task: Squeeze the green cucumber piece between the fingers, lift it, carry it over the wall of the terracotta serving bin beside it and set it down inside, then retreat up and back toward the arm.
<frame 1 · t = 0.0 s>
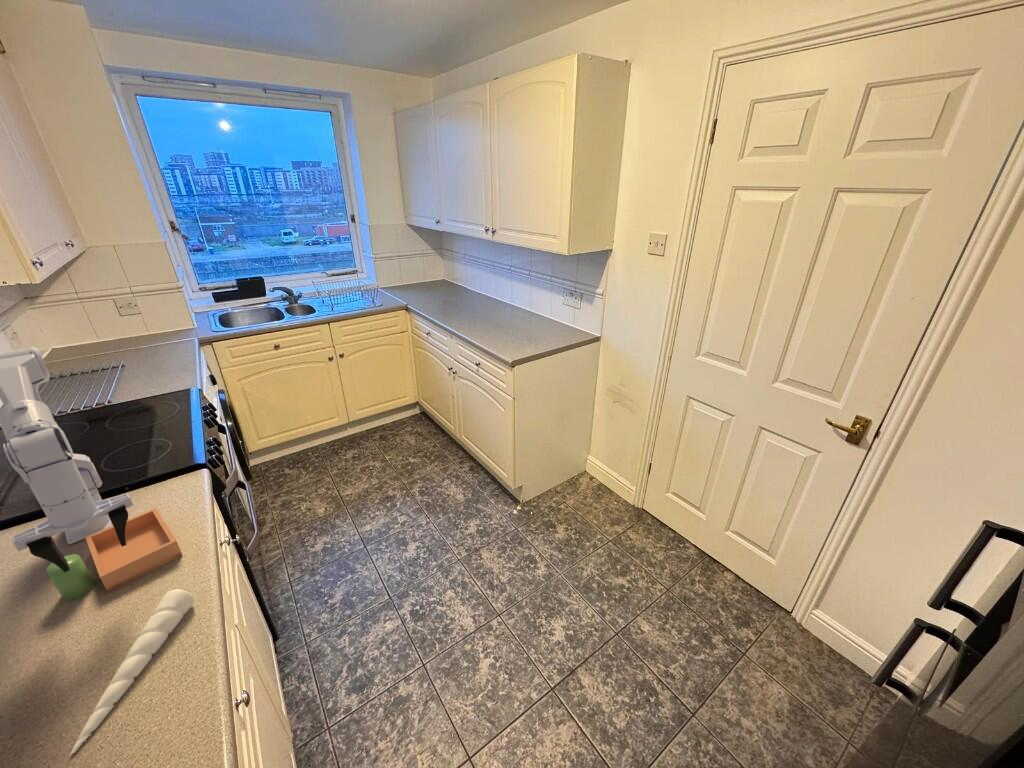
hand: (95, 555, 76), 10 cm above the countertop, tool pointing down, fingers open, 7 cm apart
unicorn horn: (144, 664, 68), on the countertop
terracotta bin: (137, 553, 89), on the countertop
cucumber piece: (78, 590, 80), on the countertop
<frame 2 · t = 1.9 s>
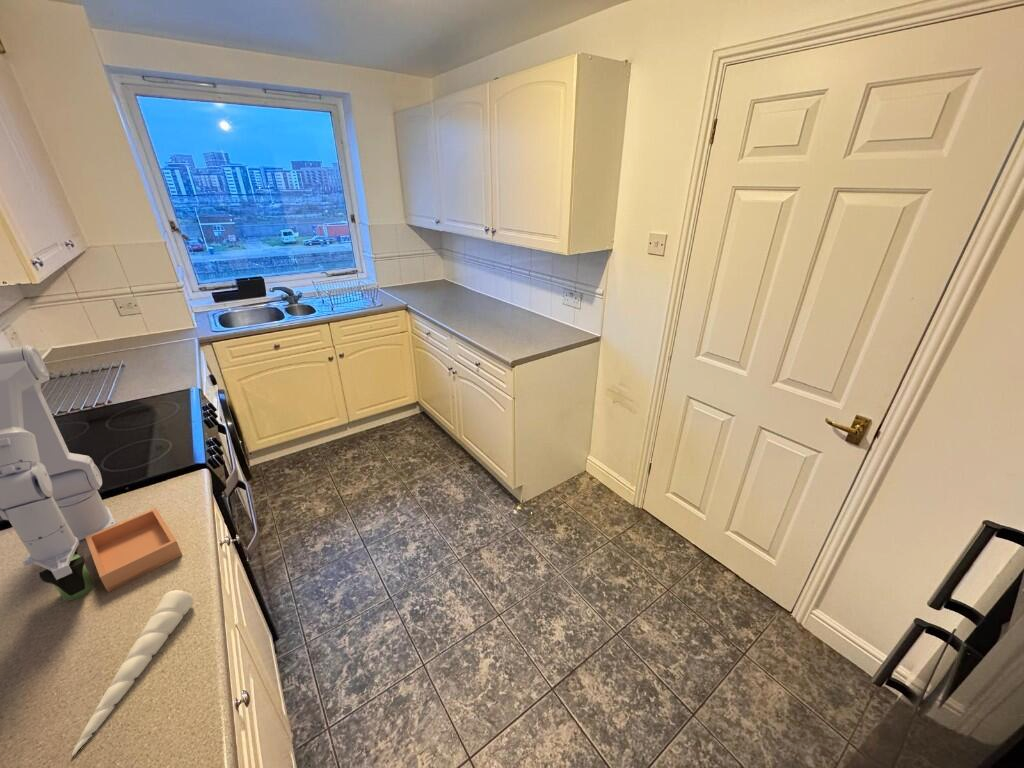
hand: (75, 584, 80), 2 cm above the countertop, tool pointing down, fingers closed on cucumber piece, 4 cm apart
cucumber piece: (78, 590, 80), on the countertop, touching gripper
everything else where it was.
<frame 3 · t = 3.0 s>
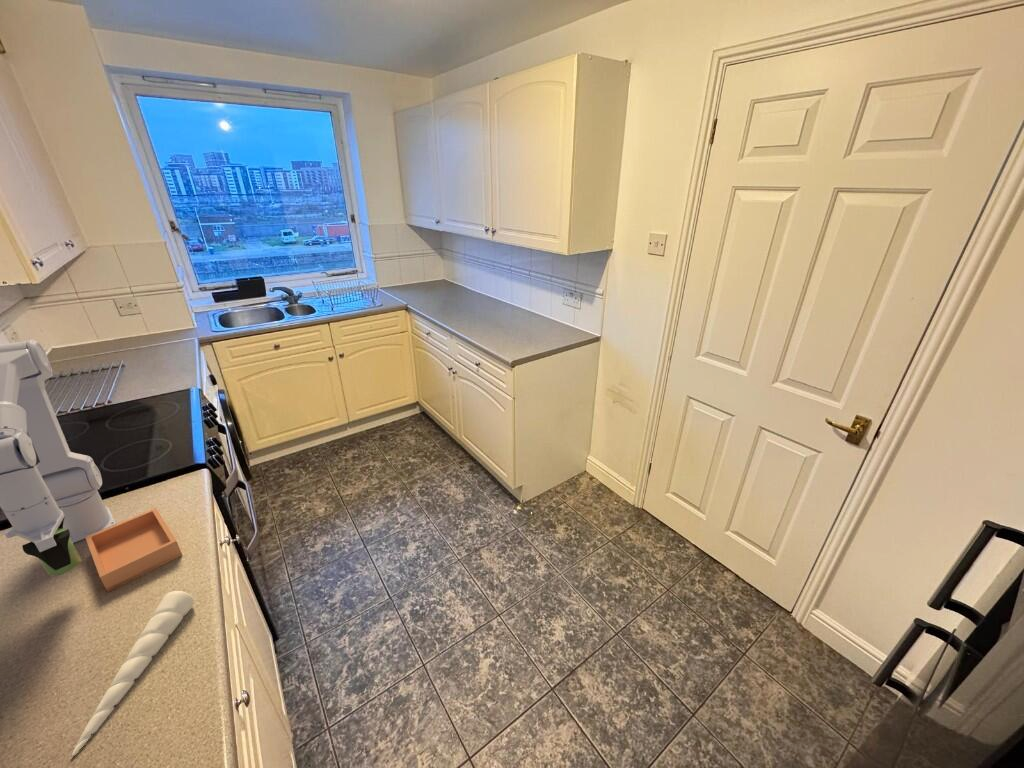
hand: (61, 559, 77), 8 cm above the countertop, tool pointing down, fingers closed on cucumber piece, 4 cm apart
cucumber piece: (64, 565, 78), point 6 cm above the countertop, touching gripper
everything else where it was.
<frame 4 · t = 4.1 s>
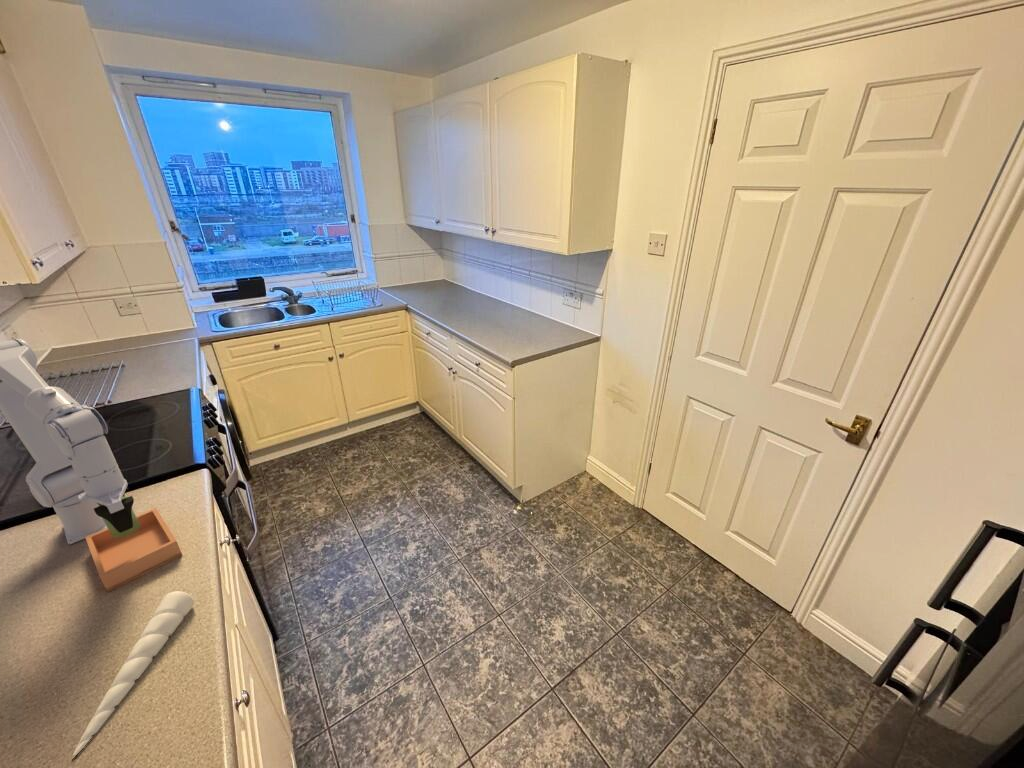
hand: (123, 523, 86), 8 cm above the countertop, tool pointing down, fingers closed on cucumber piece, 4 cm apart
cucumber piece: (126, 529, 86), point 6 cm above the countertop, touching gripper
everything else where it was.
when the fingers open (4 cm above the countertop, at t = 5.2 s): cucumber piece drops 1 cm, resting on terracotta bin.
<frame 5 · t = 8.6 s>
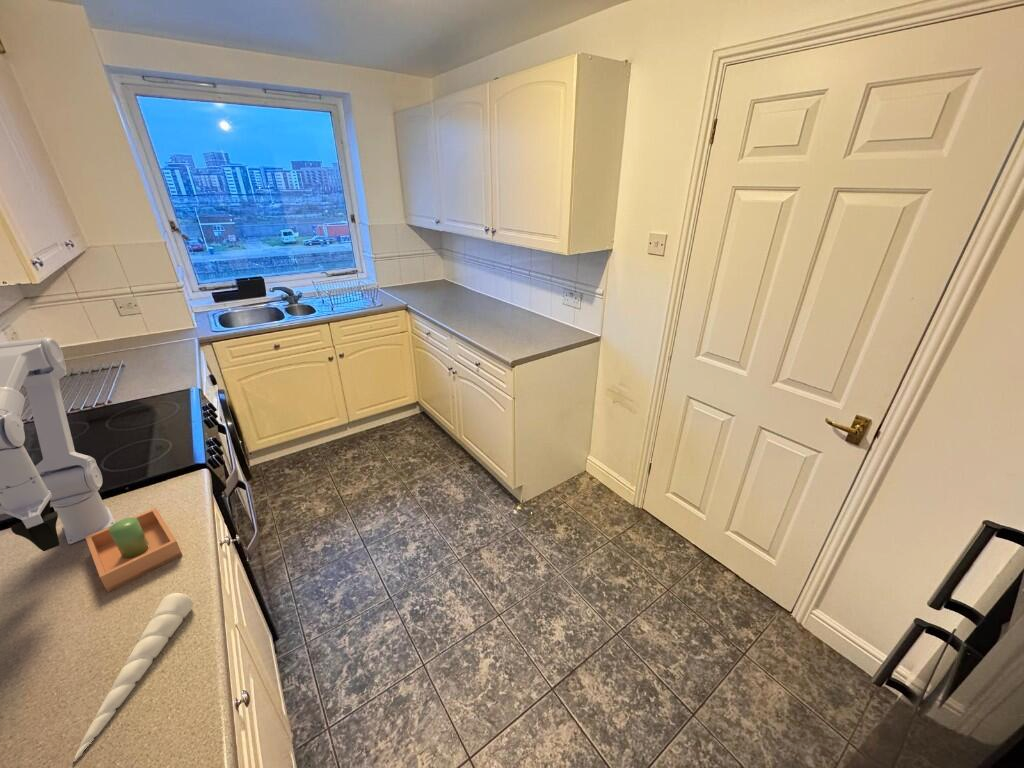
hand: (48, 537, 80), 10 cm above the countertop, tool pointing down, fingers open, 7 cm apart
cucumber piece: (135, 550, 89), point 1 cm above the countertop, touching terracotta bin
everything else where it was.
at the end: cucumber piece inside the target area on the terracotta bin (0.0 cm from its centre), point 0.8 cm above the terracotta bin's base; the gripper is holding nothing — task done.
